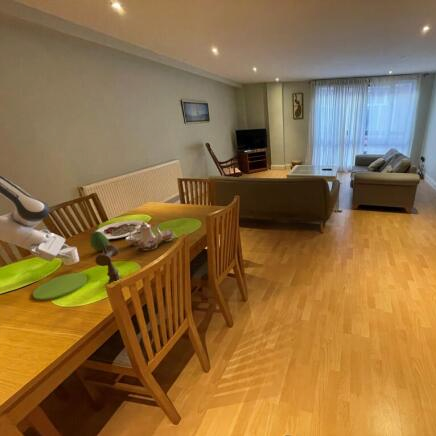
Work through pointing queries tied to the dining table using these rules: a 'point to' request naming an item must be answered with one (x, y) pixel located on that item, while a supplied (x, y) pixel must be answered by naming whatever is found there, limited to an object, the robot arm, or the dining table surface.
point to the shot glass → (73, 255)
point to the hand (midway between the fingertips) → (70, 254)
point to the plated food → (120, 229)
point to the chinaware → (149, 237)
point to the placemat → (60, 286)
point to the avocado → (98, 241)
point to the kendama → (109, 261)
